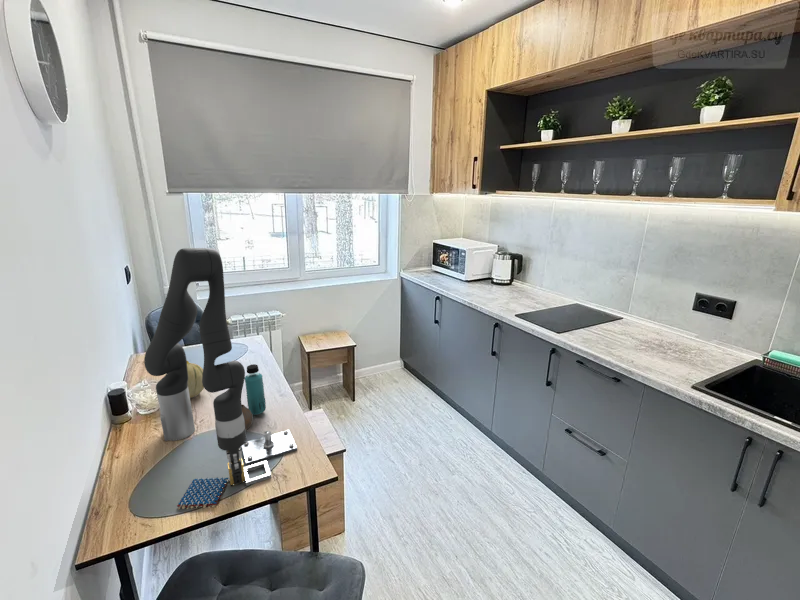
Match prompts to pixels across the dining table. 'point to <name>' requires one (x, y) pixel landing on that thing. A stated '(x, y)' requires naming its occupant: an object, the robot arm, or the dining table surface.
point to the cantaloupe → (194, 379)
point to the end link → (249, 468)
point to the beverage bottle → (255, 390)
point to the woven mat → (203, 493)
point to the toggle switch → (268, 447)
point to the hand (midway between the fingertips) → (237, 478)
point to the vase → (247, 417)
